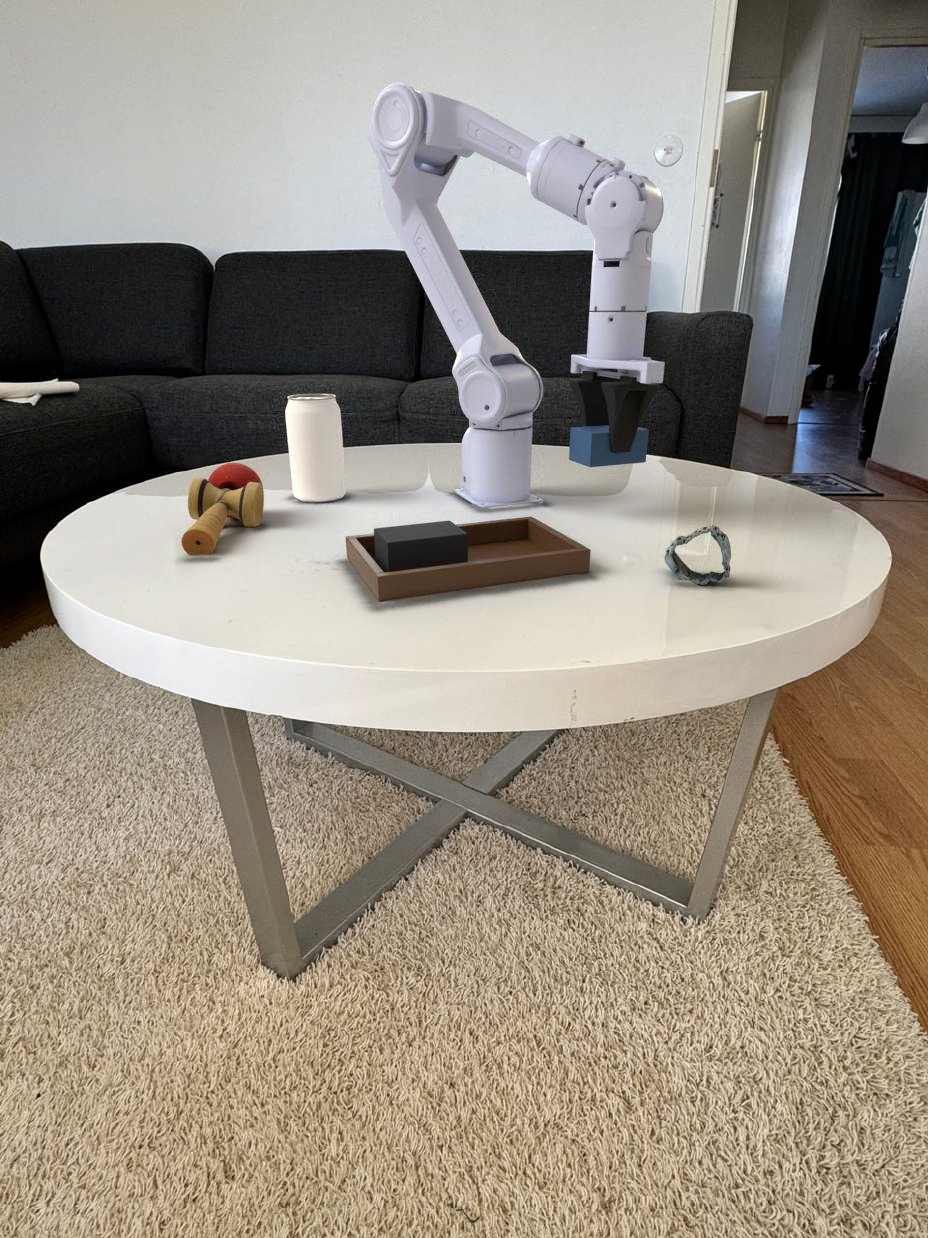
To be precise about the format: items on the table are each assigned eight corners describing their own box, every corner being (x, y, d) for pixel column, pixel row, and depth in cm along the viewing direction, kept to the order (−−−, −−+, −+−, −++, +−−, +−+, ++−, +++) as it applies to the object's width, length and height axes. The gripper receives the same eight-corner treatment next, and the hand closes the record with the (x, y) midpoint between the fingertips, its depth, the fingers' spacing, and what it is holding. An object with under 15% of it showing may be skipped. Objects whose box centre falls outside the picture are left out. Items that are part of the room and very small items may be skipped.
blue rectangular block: (568, 459, 79) (570, 427, 78) (622, 455, 82) (625, 423, 80) (589, 467, 75) (591, 433, 74) (645, 462, 78) (649, 429, 76)
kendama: (253, 570, 68) (283, 498, 83) (230, 508, 65) (265, 445, 80) (174, 585, 68) (218, 511, 84) (146, 524, 65) (198, 459, 80)
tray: (347, 562, 66) (345, 536, 65) (530, 540, 72) (531, 516, 71) (379, 607, 56) (377, 576, 55) (589, 577, 62) (591, 549, 61)
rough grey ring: (696, 590, 63) (661, 546, 62) (748, 559, 60) (711, 513, 59) (690, 605, 60) (653, 560, 60) (744, 574, 57) (706, 526, 57)
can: (335, 504, 86) (327, 399, 81) (284, 501, 87) (273, 398, 82) (353, 492, 92) (347, 393, 87) (306, 489, 93) (297, 392, 88)
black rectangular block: (375, 566, 63) (373, 528, 62) (450, 557, 66) (449, 520, 64) (389, 583, 59) (387, 542, 58) (468, 572, 62) (468, 533, 60)
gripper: (696, 311, 68) (680, 456, 73) (612, 311, 80) (603, 435, 85) (633, 311, 65) (620, 462, 71) (556, 311, 78) (551, 439, 83)
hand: (607, 448), depth 78 cm, fingers closed on blue rectangular block, 4 cm apart
